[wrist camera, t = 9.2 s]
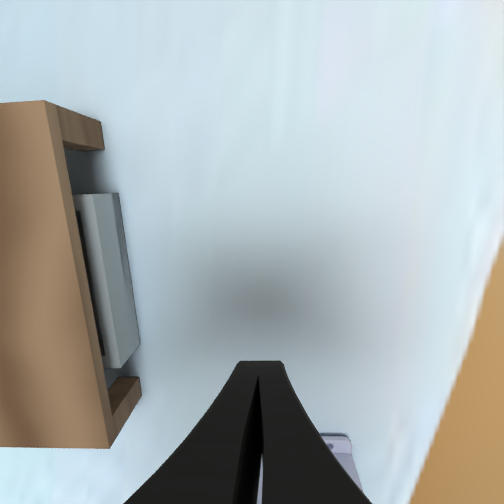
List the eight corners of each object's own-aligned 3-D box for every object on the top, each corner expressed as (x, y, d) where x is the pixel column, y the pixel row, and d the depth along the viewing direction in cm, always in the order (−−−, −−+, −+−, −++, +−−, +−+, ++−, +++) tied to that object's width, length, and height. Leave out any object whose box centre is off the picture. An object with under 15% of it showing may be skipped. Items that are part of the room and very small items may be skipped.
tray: (118, 192, 17) (92, 194, 15) (140, 344, 19) (120, 368, 17) (7, 197, 18) (-36, 199, 15) (41, 344, 20) (8, 368, 17)
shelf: (100, 121, 16) (43, 100, 12) (141, 395, 20) (109, 448, 16) (-44, 130, 17) (-144, 113, 13) (24, 395, 21) (-36, 446, 17)
